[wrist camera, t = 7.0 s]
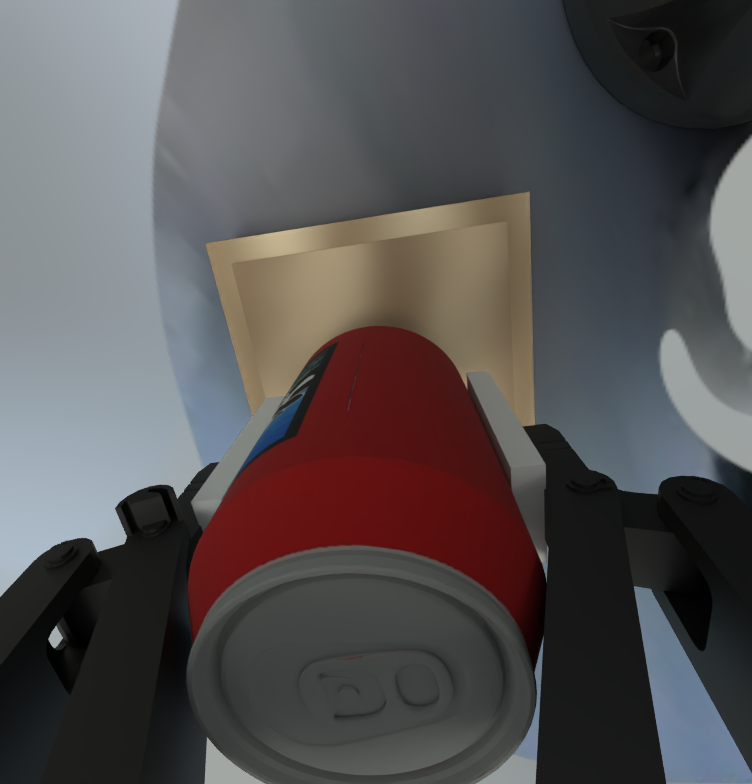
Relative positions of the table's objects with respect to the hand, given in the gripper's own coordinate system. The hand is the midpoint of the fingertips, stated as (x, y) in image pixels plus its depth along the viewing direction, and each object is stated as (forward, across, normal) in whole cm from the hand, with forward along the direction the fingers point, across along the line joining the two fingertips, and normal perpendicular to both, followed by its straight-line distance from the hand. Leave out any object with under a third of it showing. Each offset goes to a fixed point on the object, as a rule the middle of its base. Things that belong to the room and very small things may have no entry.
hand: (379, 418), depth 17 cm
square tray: (+9, 0, 0) cm, 9 cm away
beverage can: (+2, 0, 0) cm, 2 cm away
